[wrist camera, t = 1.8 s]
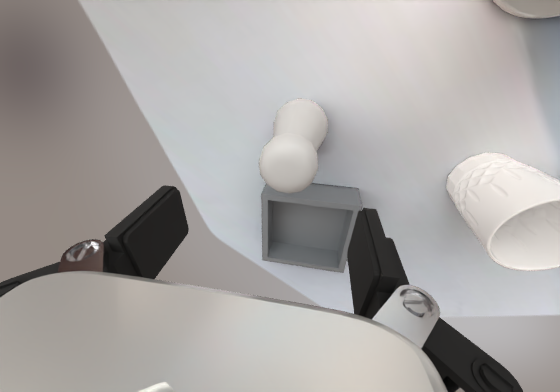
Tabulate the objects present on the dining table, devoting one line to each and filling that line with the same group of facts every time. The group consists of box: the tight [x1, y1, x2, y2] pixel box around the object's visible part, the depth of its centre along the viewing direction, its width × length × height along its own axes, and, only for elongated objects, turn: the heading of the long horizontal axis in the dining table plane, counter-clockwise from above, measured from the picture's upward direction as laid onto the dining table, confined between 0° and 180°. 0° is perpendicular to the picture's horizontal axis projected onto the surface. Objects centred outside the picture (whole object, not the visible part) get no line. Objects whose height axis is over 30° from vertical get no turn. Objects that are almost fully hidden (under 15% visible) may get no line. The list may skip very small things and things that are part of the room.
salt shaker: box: [259, 98, 328, 193], centre depth 21 cm, size 6×6×13 cm
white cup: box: [446, 152, 560, 271], centre depth 22 cm, size 8×8×10 cm
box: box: [261, 183, 362, 273], centre depth 32 cm, size 12×12×4 cm
